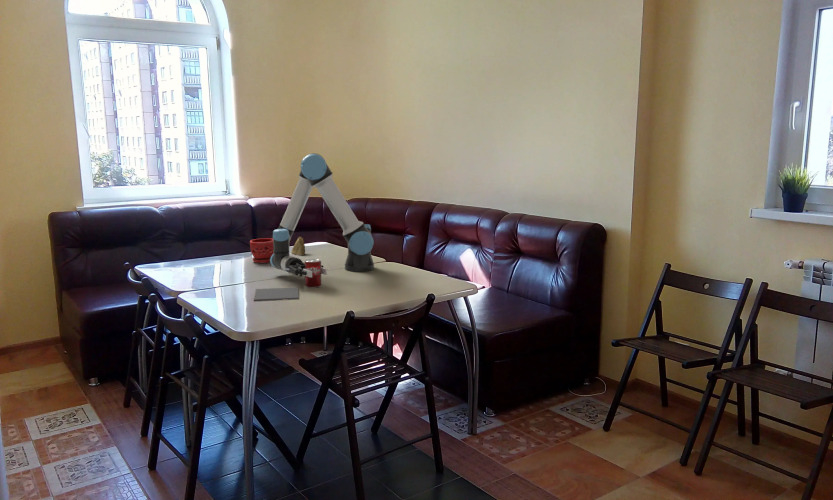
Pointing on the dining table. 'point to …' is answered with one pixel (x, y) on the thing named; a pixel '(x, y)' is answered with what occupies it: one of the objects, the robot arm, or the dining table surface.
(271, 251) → the plant pot
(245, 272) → the dining table surface
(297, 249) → the rock
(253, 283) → the dining table surface
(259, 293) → the mat
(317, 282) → the soda can
